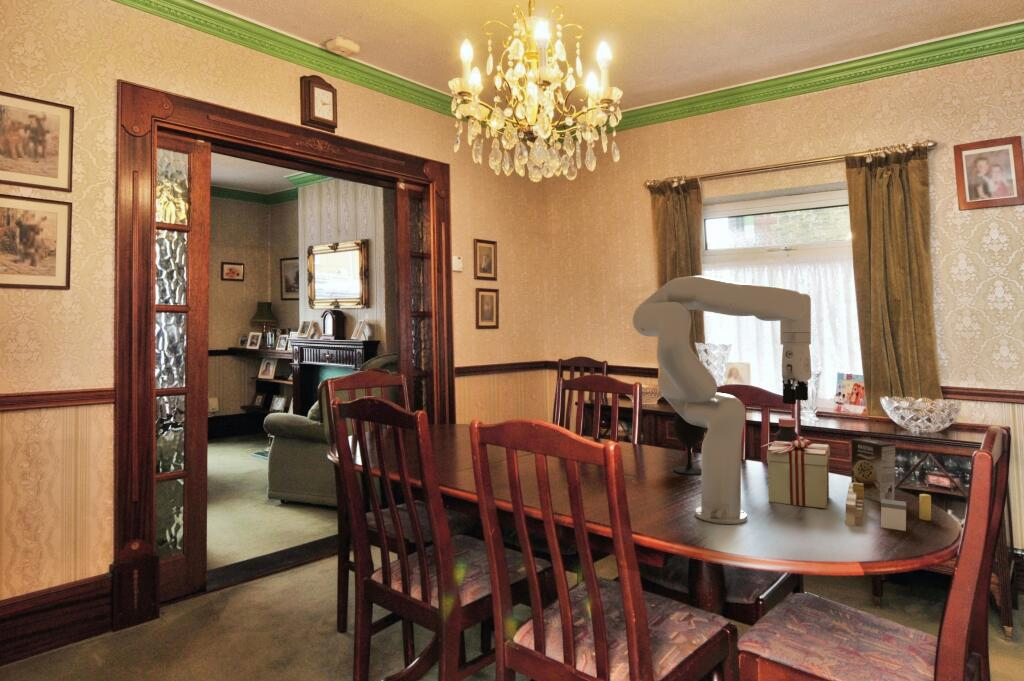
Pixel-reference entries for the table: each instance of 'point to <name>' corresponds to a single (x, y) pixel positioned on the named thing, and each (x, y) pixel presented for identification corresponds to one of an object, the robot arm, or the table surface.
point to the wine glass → (687, 442)
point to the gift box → (798, 473)
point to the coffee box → (874, 468)
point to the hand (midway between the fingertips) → (795, 401)
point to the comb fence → (854, 504)
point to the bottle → (786, 430)
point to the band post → (925, 507)
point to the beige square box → (893, 514)
